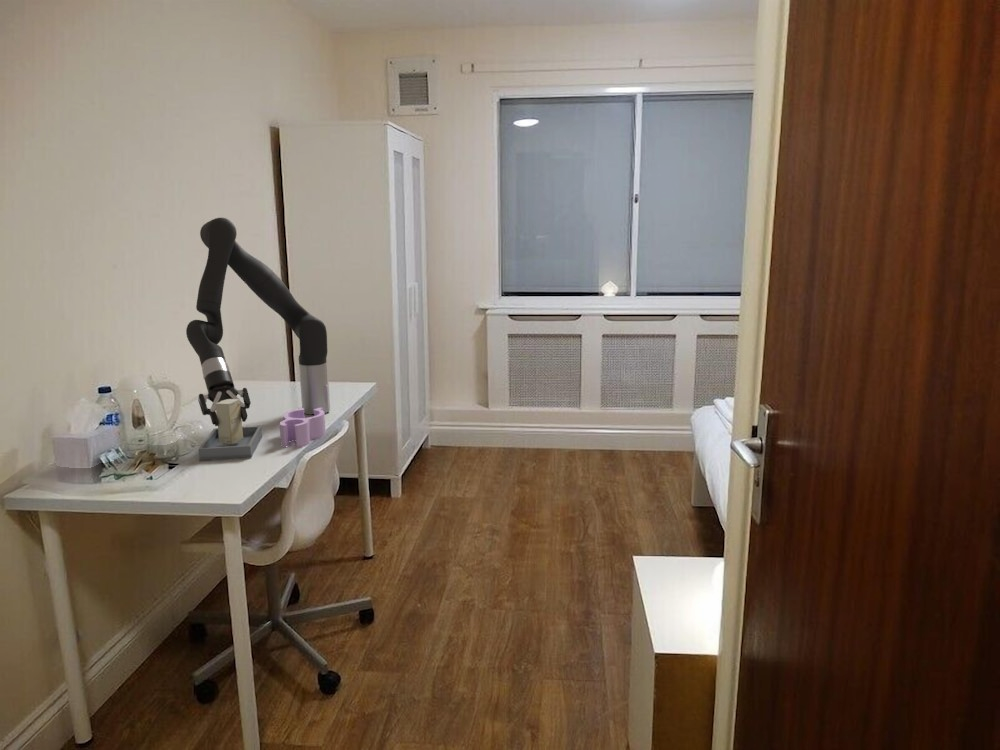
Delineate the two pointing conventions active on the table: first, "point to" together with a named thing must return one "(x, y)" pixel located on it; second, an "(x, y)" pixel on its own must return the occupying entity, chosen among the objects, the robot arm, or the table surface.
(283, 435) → the clip
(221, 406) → the skincare box
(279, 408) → the table surface
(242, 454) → the tray
